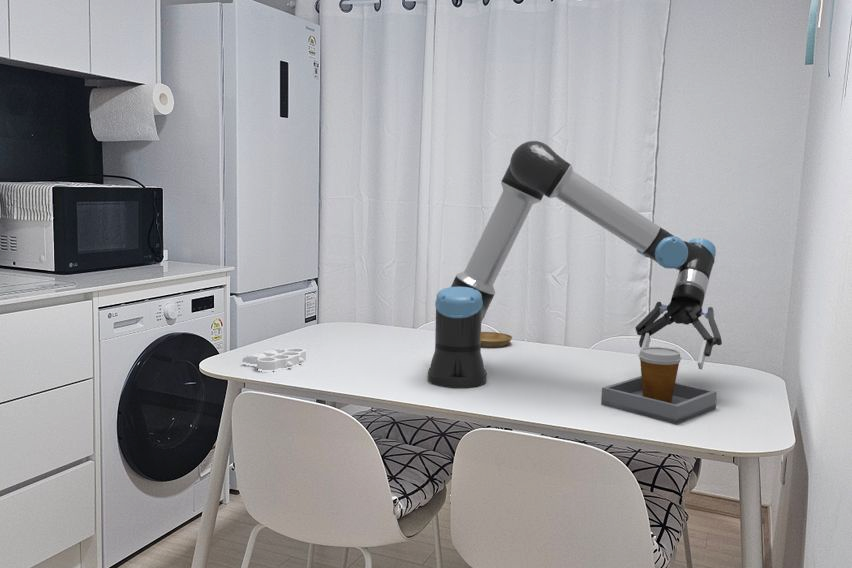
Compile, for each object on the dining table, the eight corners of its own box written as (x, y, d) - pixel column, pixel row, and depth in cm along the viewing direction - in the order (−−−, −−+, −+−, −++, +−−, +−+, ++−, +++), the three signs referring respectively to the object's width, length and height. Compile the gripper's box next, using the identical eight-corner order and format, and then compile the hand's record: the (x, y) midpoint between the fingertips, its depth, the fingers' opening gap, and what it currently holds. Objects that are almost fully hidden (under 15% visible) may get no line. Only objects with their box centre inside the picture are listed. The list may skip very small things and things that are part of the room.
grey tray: (601, 404, 179) (601, 387, 178) (642, 390, 191) (643, 375, 191) (676, 424, 165) (677, 406, 165) (715, 408, 178) (716, 391, 177)
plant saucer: (488, 337, 254) (488, 329, 253) (521, 345, 243) (522, 337, 242) (455, 343, 244) (455, 335, 244) (488, 351, 233) (489, 343, 233)
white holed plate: (275, 356, 223) (317, 362, 216) (234, 369, 207) (279, 376, 200) (275, 344, 222) (318, 350, 216) (234, 357, 206) (279, 363, 200)
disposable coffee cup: (684, 408, 174) (687, 356, 172) (642, 407, 174) (645, 355, 172) (670, 396, 183) (674, 347, 182) (631, 395, 183) (633, 346, 182)
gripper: (743, 306, 190) (726, 378, 179) (642, 296, 203) (621, 363, 192) (741, 287, 184) (723, 360, 174) (637, 278, 197) (615, 346, 187)
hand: (670, 362), depth 183 cm, fingers open, 13 cm apart
